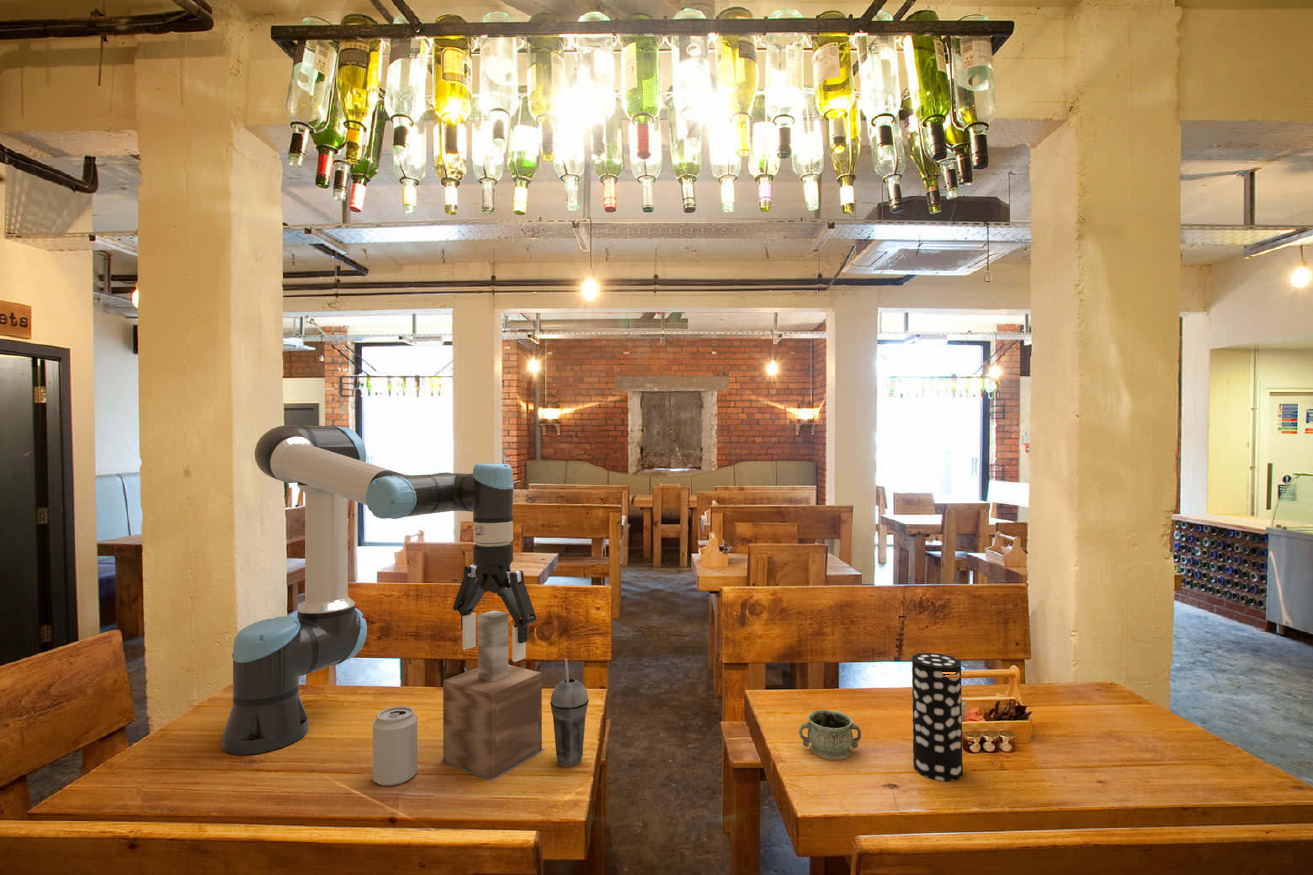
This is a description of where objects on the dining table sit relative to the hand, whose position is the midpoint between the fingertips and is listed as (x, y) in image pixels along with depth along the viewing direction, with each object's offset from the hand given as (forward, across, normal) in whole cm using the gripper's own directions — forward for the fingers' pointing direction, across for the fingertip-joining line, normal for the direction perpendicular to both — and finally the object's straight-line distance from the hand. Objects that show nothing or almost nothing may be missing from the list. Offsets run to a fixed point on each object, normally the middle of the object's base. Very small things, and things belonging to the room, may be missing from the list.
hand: (493, 653), depth 123 cm
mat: (+20, 0, 0) cm, 20 cm away
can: (+20, -9, -15) cm, 27 cm away
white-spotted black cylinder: (+20, +73, +40) cm, 86 cm away
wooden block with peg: (+19, 0, 0) cm, 19 cm away
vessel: (+20, +54, +37) cm, 68 cm away
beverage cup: (+20, +14, +6) cm, 25 cm away
